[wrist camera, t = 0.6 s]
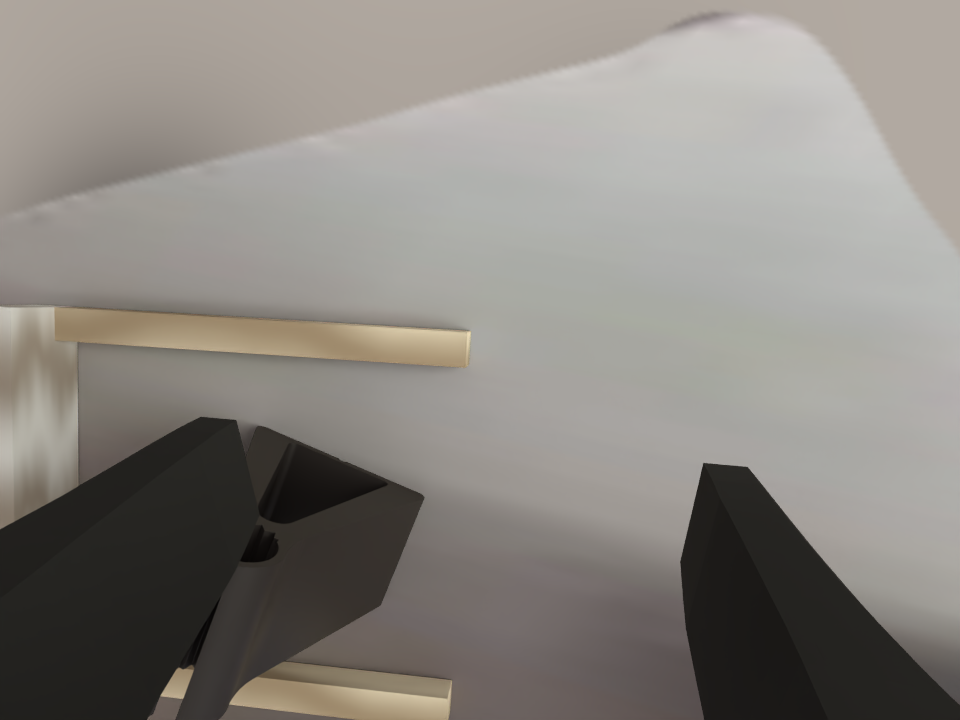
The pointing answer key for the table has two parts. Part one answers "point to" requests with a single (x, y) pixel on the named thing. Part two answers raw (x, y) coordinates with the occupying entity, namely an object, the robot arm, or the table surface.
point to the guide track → (57, 330)
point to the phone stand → (297, 566)
